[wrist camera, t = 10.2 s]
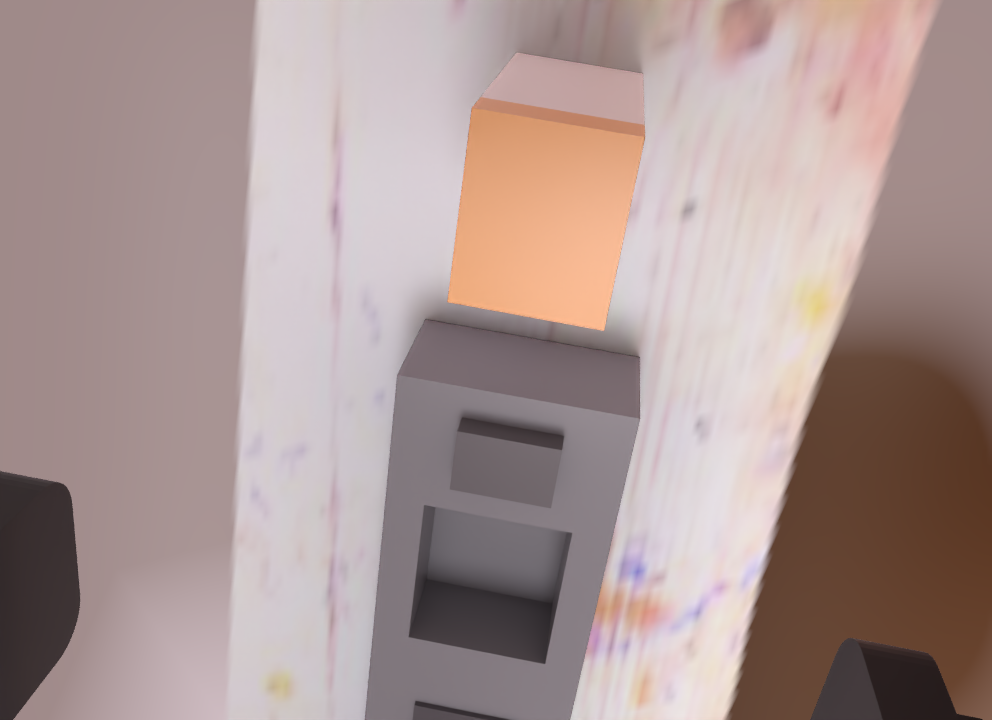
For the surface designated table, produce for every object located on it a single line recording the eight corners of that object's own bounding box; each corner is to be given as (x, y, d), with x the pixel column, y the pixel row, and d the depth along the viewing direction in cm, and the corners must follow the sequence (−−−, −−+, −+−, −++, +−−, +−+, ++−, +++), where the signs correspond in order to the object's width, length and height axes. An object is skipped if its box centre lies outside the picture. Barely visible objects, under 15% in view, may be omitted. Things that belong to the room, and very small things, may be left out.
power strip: (536, 814, 40) (524, 924, 36) (376, 781, 40) (345, 885, 36) (639, 357, 30) (639, 433, 26) (425, 319, 30) (390, 387, 26)
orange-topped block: (612, 222, 28) (603, 331, 21) (495, 202, 28) (447, 302, 21) (643, 73, 26) (645, 137, 19) (516, 52, 26) (471, 107, 19)
